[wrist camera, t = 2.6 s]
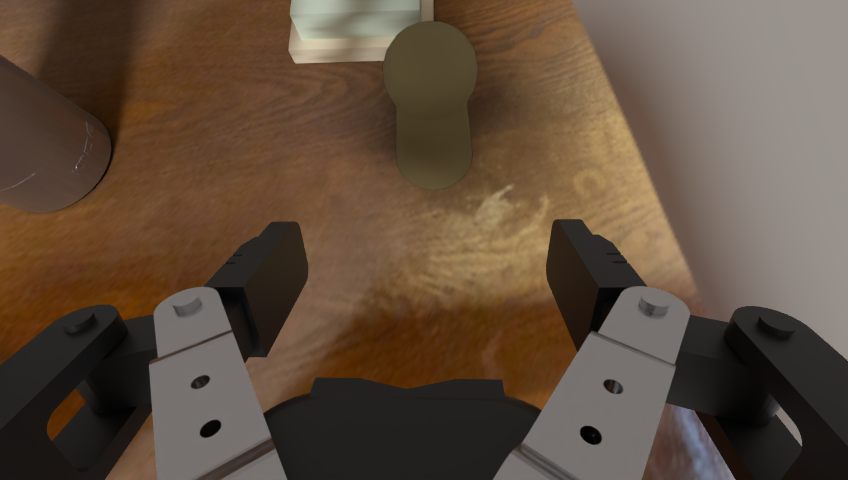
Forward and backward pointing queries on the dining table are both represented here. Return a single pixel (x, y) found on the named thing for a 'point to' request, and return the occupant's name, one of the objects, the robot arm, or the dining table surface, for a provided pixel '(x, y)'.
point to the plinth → (345, 46)
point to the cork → (431, 102)
